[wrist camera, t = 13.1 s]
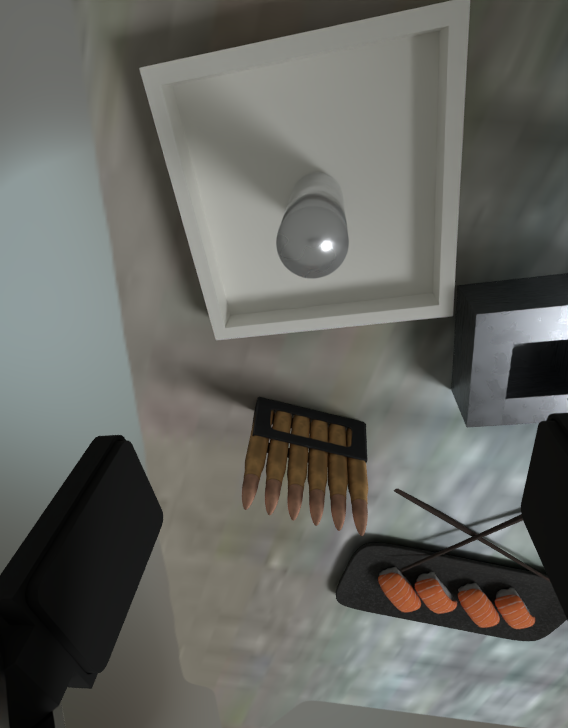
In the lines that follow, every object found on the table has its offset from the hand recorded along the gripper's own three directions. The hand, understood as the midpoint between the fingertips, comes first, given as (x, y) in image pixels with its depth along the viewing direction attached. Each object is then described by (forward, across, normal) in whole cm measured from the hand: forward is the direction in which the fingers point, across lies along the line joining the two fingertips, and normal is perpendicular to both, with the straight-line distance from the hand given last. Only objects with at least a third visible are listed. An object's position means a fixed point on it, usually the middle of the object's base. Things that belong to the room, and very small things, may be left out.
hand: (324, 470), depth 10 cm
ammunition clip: (+25, +4, +19) cm, 31 cm away
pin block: (+25, -14, +11) cm, 31 cm away
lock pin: (+24, +1, -1) cm, 24 cm away
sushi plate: (+26, -14, +41) cm, 50 cm away
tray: (+25, +1, -1) cm, 25 cm away
